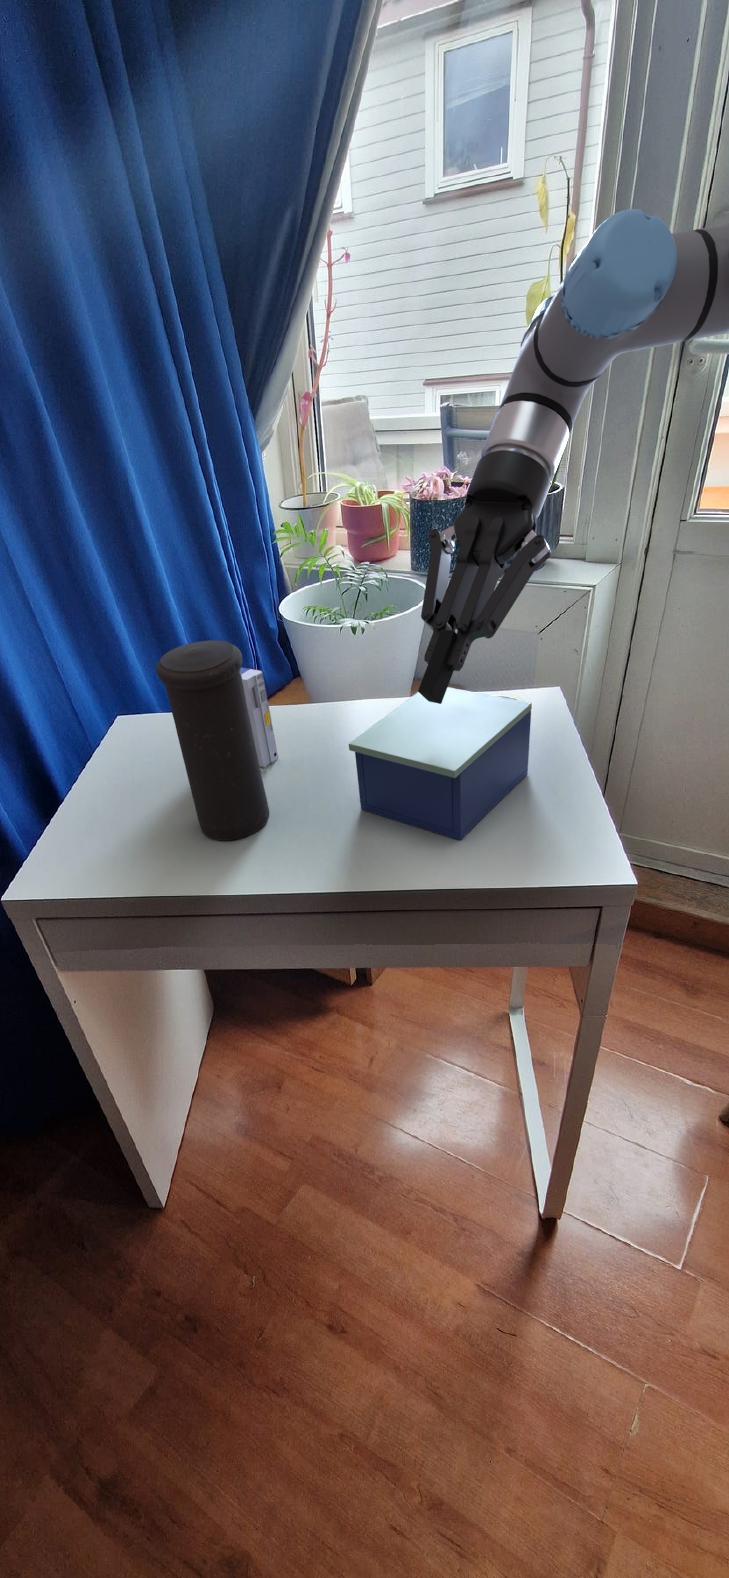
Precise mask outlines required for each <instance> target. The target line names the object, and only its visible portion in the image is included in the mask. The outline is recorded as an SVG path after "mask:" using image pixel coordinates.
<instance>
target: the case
mask: <svg viewBox="0 0 729 1578" xmlns="http://www.w3.org/2000/svg"><path fill="white" fill-rule="evenodd" d="M531 721H532V709H531V710H530V711H529V712H528V713H527V714H526V715H525V716H524V717H523V718H522V719H520V720H519V721H518V722H517V723H516V724H515V725H514V726H513V727H512V728H510V729H509V730H508V731H507V732H506V733H505V734H504V735H503V736H502V737H500V738H499V739H498V740H497V741H496V742H495V743H494V744H493V745H491V746H490V747H489V748H488V749H487V750H486V751H485V752H484V753H483V754H481V755H480V756H479V757H478V758H477V759H476V760H475V761H474V762H473V763H471V764H470V765H469V766H468V767H467V768H466V769H465V770H464V771H463V772H461V773H460V774H459V775H458V776H457V777H456V778H453V777H449V776H445V775H441V774H438V773H434V772H430V771H426V770H422V769H419V768H415V767H411V766H407V765H403V764H400V763H396V762H392V761H388V760H384V759H381V758H377V757H373V756H369V755H365V754H361V753H358V752H354V756H355V764H356V765H355V767H356V776H357V785H358V794H359V803H360V810H362V811H365V812H368V813H372V814H374V815H377V816H381V817H384V818H386V819H387V818H388V819H390V820H394V821H396V822H399V823H403V824H407V825H410V826H412V827H416V828H419V829H422V830H425V831H429V832H431V833H435V834H438V835H442V836H444V837H447V838H451V839H453V840H457V841H462V840H463V839H464V838H465V837H466V836H467V835H468V834H469V833H470V832H471V831H472V830H473V829H474V828H475V827H476V826H477V825H478V824H479V823H480V822H481V821H482V820H483V819H484V818H485V817H486V816H487V815H488V814H489V813H490V812H491V811H492V810H493V809H494V808H495V807H496V806H497V805H498V804H499V803H500V802H501V801H502V800H503V799H504V798H505V797H507V795H508V794H509V793H510V792H512V790H513V789H514V788H516V786H518V784H519V783H520V782H521V781H523V780H524V779H525V778H526V777H527V776H528V774H529V756H530V755H529V754H530V737H531Z"/></svg>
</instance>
